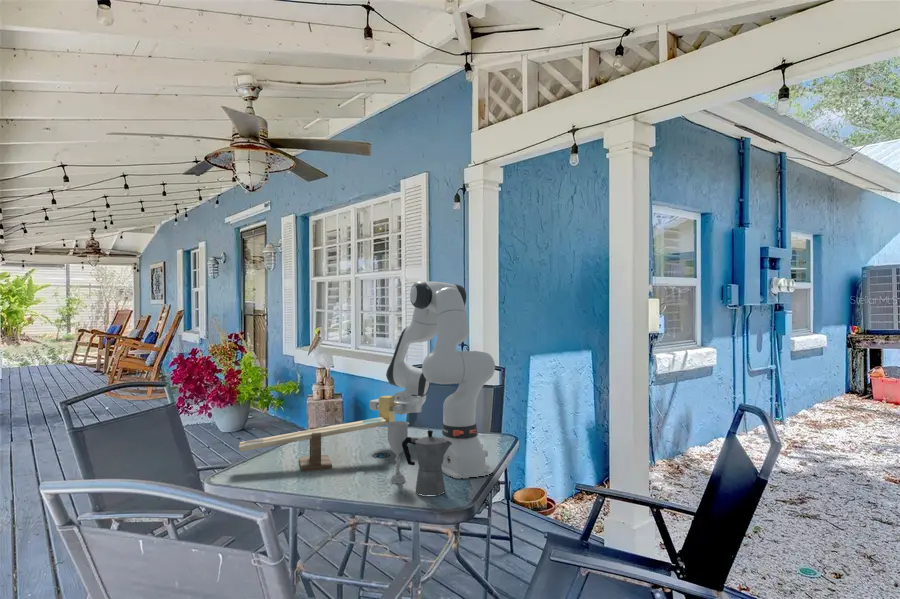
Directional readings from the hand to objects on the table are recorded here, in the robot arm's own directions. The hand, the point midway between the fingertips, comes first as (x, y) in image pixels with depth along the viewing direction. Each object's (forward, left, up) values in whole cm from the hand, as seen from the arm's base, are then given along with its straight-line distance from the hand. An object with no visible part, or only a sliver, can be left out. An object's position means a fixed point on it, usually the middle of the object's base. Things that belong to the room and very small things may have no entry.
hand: (385, 408), depth 203 cm
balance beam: (-8, +26, -6) cm, 28 cm away
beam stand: (-8, +26, -16) cm, 32 cm away
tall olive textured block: (+1, -1, -6) cm, 6 cm away
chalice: (-35, +3, -16) cm, 39 cm away
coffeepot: (-47, -3, -16) cm, 50 cm away
